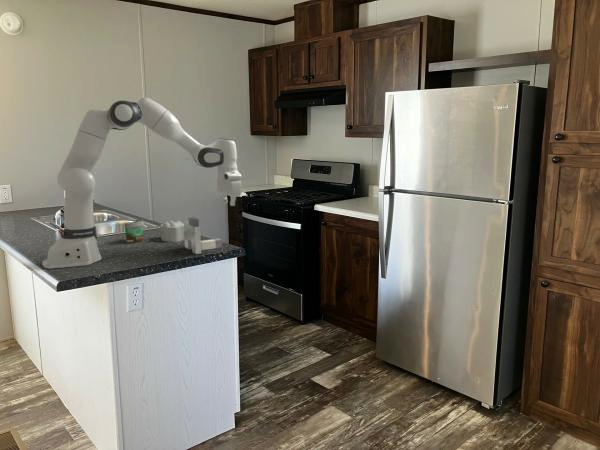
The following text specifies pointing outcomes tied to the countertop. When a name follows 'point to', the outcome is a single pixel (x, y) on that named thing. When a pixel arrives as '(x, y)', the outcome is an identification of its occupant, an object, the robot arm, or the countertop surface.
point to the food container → (134, 231)
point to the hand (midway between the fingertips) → (228, 204)
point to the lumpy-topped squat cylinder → (172, 231)
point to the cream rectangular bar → (211, 244)
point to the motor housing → (192, 235)
